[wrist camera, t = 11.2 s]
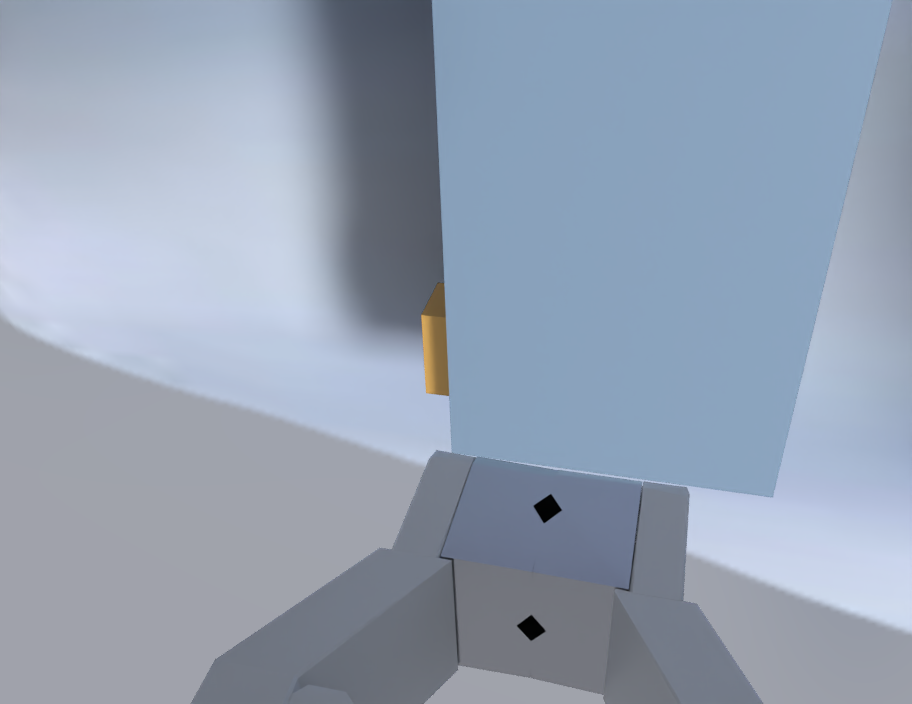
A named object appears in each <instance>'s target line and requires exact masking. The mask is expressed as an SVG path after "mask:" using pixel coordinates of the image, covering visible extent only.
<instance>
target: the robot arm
mask: <svg viewBox="0 0 912 704" xmlns="http://www.w3.org/2000/svg"><path fill="white" fill-rule="evenodd" d="M641 489H642V492H641ZM689 495H690V494H689V492H688V489H687V487H680V486H673V485H665V484H658V483H651V482H644V483H643V486H642V482H641V481H634V480H627V479H620V478H612V477H605V476H598V475H591V474H584V473H576V472H569V471H562V470H553V469H547V468H541V467H535V466H530V465H524V464H518V463H512V462H506V461H501V460H495V459H489V458H483V457H471V456H466V455H460V454H455V453H449V452H444V451H438V450H437V451H436V452H435V453H434V454H433V455H432V456H431V457H430V458H429V460H428V463H427V465H426V468H425V470H424V472H423V475H422V477H421V480H420V483H419V485H418V487H417V489H416V492H415V495H414V497H413V500H412V502H411V504H410V506H409V509H408V511H407V514H406V516H405V519H404V521H403V524H402V526H401V528H400V531H399V533H398V536H397V538H396V540H395V543H394V545H393V548H392V549H385V548H379V549H377V550H376V551H375V552H373V553H371V554H370V555H368V556H367V557H365V558H364V559H363V560H361V561H360V562H358V563H357V564H355V565H354V566H352V567H351V568H349V569H348V570H346V571H345V572H343V573H342V574H340V575H339V576H338V577H336V578H335V579H333V580H332V581H330V582H329V583H327V584H326V585H324V586H323V587H321V588H320V589H319V590H317V591H316V592H314V593H312V594H311V595H310V596H308V597H307V598H305V599H304V600H302V601H301V602H299V603H298V604H296V605H295V606H293V607H292V608H290V609H289V610H287V611H286V612H285V613H283V614H282V615H280V616H279V617H277V618H276V619H274V620H273V621H272V622H270V623H268V624H267V625H265V626H264V627H263V628H261V629H260V630H258V631H257V632H255V633H254V634H252V635H251V636H249V637H248V638H246V639H245V640H243V641H242V642H240V643H239V644H237V645H236V646H235V647H233V648H232V649H230V650H229V651H227V652H226V653H225V654H223V655H221V656H220V657H218V658H217V659H215V661H214V663H213V664H212V666H211V668H210V670H209V672H208V673H207V675H206V677H205V679H204V681H203V683H202V684H201V686H200V688H199V690H198V691H197V693H196V695H195V697H194V699H193V700H192V702H191V704H424V703H425V702H426V701H427V700H428V699H429V698H430V697H431V696H432V695H433V694H434V693H435V692H436V691H437V690H438V689H439V688H440V687H441V686H442V685H443V684H444V683H445V682H446V681H447V680H448V679H449V678H450V677H451V676H452V675H453V674H454V673H455V672H456V671H457V670H458V665H460V666H466V667H472V668H477V669H483V670H489V671H494V672H500V673H506V674H512V675H517V676H523V677H529V678H530V677H531V678H533V679H537V680H542V681H546V682H551V683H555V684H559V685H563V686H568V687H572V688H576V689H581V690H585V691H589V692H594V693H598V694H602V695H604V697H603V698H604V701H605V703H606V704H763V702H762V701H761V699H760V698H759V696H758V694H757V693H756V691H755V690H754V688H753V687H752V685H751V684H750V682H749V681H748V680H747V678H746V677H745V675H744V674H743V672H742V670H741V669H740V668H739V666H738V665H737V663H736V661H735V660H734V659H733V657H732V655H731V654H730V652H729V651H728V650H727V648H726V646H725V645H724V643H723V642H722V640H721V639H720V637H719V636H718V635H717V633H716V631H715V630H714V629H713V627H712V626H711V624H710V622H709V621H708V619H707V618H706V616H705V615H704V613H703V612H702V611H701V609H700V608H699V606H698V604H695V603H691V602H686V601H683V596H684V580H685V563H686V546H687V529H688V512H689ZM640 499H641V501H640ZM639 507H640V509H639ZM638 516H639V517H638ZM637 524H638V526H637ZM636 532H637V534H636ZM635 540H636V542H635Z"/></svg>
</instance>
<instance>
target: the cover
mask: <svg viewBox="0 0 912 704" xmlns="http://www.w3.org/2000/svg"><path fill="white" fill-rule="evenodd" d="M892 1H893V0H432V15H433V37H434V60H435V83H436V105H437V128H438V151H439V173H440V196H441V219H442V241H443V264H444V283H437V285H436V287H435V289H434V291H433V293H432V295H431V297H430V299H429V301H428V303H427V305H426V307H425V309H424V311H423V313H422V315H421V318H422V334H423V350H424V366H425V382H426V393H430V394H438V395H446V396H449V400H450V423H451V445H452V453H457V454H464V455H471V456H479V457H486V458H493V459H500V460H507V461H515V462H522V463H529V464H536V465H543V466H550V467H558V468H565V469H572V470H579V471H586V472H593V473H601V474H608V475H615V476H622V477H629V478H636V479H644V480H651V481H658V482H665V483H672V484H679V485H687V486H694V487H701V488H708V489H715V490H722V491H730V492H737V493H744V494H751V495H758V496H765V497H773V494H774V490H775V486H776V481H777V477H778V473H779V469H780V465H781V461H782V457H783V452H784V448H785V444H786V440H787V436H788V432H789V428H790V423H791V419H792V415H793V411H794V407H795V403H796V399H797V394H798V390H799V386H800V382H801V378H802V374H803V370H804V365H805V361H806V357H807V353H808V349H809V345H810V341H811V336H812V332H813V328H814V324H815V320H816V316H817V312H818V307H819V303H820V299H821V295H822V291H823V287H824V283H825V278H826V274H827V270H828V266H829V262H830V258H831V254H832V249H833V245H834V241H835V237H836V233H837V229H838V225H839V220H840V216H841V212H842V208H843V204H844V200H845V196H846V191H847V187H848V183H849V179H850V175H851V171H852V167H853V162H854V158H855V154H856V150H857V146H858V142H859V138H860V133H861V129H862V125H863V121H864V117H865V113H866V109H867V104H868V100H869V96H870V92H871V88H872V84H873V80H874V75H875V71H876V67H877V63H878V59H879V55H880V51H881V46H882V42H883V38H884V34H885V30H886V26H887V21H888V17H889V13H890V9H891V5H892Z"/></svg>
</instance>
